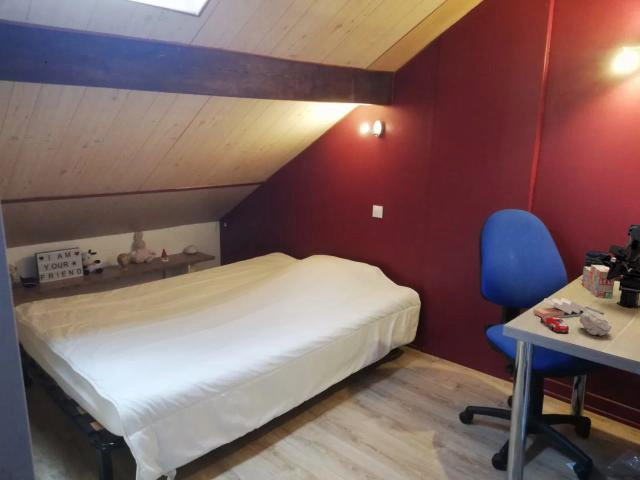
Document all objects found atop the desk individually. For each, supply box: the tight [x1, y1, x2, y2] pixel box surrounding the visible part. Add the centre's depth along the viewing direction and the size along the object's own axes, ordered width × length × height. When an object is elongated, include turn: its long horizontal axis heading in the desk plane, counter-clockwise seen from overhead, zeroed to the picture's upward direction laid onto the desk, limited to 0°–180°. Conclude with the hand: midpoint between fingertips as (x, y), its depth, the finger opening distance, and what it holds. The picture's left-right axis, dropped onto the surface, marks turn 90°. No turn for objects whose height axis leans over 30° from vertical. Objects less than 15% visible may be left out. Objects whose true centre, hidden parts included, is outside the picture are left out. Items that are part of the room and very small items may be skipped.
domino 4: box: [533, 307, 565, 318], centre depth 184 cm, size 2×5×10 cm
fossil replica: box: [579, 309, 612, 336], centre depth 166 cm, size 12×8×10 cm
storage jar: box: [584, 250, 610, 267], centre depth 233 cm, size 10×10×15 cm
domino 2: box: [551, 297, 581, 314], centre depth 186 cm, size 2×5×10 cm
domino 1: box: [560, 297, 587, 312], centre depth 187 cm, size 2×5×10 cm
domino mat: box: [554, 306, 604, 319], centre depth 188 cm, size 22×8×1 cm, turn 107°
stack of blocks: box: [581, 265, 616, 300], centre depth 218 cm, size 21×6×12 cm, turn 168°
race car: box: [540, 316, 570, 334], centre depth 172 cm, size 13×5×4 cm, turn 0°
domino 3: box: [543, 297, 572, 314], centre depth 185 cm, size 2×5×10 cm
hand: (607, 279), depth 190 cm, fingers closed
